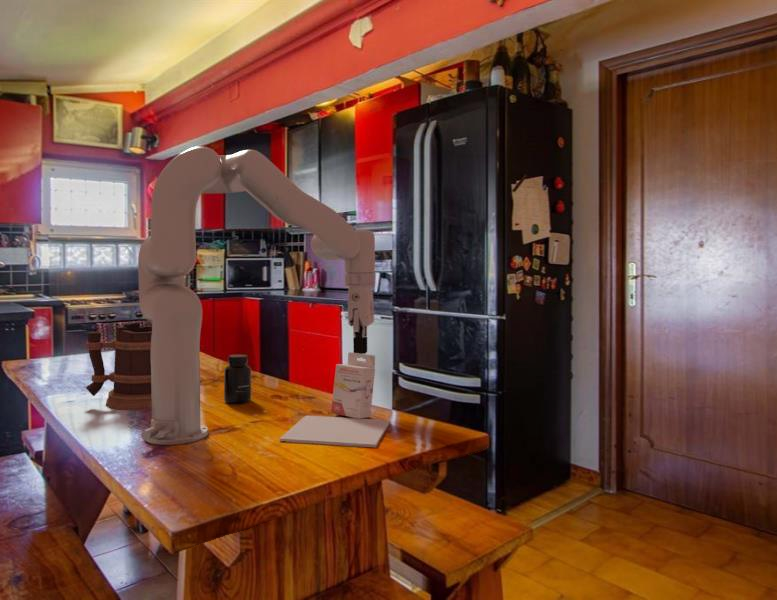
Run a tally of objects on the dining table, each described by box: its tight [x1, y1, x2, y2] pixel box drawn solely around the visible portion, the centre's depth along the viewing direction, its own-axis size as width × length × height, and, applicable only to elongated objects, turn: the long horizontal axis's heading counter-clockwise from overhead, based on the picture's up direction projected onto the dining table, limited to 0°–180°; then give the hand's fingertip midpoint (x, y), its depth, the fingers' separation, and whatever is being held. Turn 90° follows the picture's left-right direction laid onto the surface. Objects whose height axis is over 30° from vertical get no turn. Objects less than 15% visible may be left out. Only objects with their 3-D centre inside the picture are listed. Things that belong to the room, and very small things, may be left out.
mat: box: [278, 415, 391, 448], centre depth 127 cm, size 18×20×1 cm
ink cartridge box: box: [330, 352, 376, 419], centre depth 139 cm, size 9×5×15 cm, turn 57°
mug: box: [85, 321, 152, 411], centre depth 150 cm, size 18×23×20 cm
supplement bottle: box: [223, 354, 252, 405], centre depth 152 cm, size 7×7×12 cm
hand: (360, 352), depth 147 cm, fingers closed
